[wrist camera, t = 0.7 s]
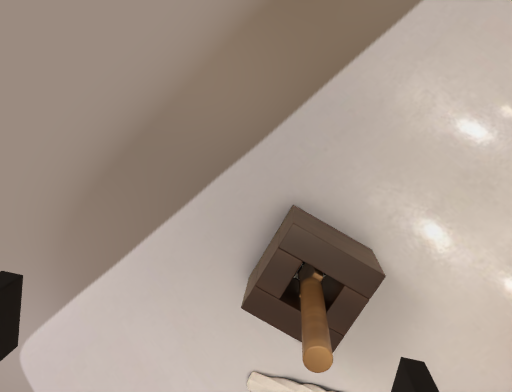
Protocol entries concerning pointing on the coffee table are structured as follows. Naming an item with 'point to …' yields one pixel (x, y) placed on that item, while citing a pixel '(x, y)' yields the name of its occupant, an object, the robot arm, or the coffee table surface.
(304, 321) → the stick
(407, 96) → the coffee table surface
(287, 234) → the holder
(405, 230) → the coffee table surface
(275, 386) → the cloth
